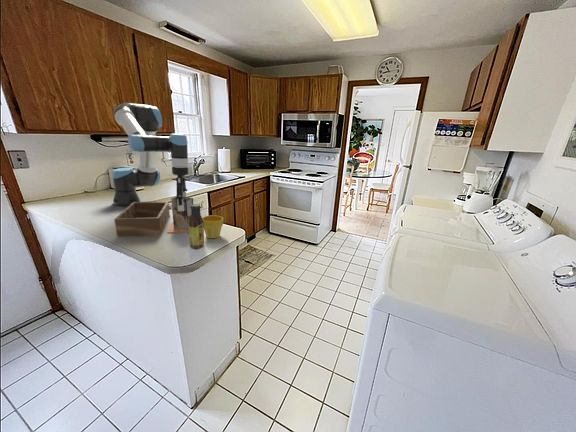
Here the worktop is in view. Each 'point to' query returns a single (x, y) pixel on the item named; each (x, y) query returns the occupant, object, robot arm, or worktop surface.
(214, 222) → the plant pot
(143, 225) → the walnut box
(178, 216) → the coffee box
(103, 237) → the worktop surface
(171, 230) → the terracotta tile
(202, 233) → the sauce bottle
